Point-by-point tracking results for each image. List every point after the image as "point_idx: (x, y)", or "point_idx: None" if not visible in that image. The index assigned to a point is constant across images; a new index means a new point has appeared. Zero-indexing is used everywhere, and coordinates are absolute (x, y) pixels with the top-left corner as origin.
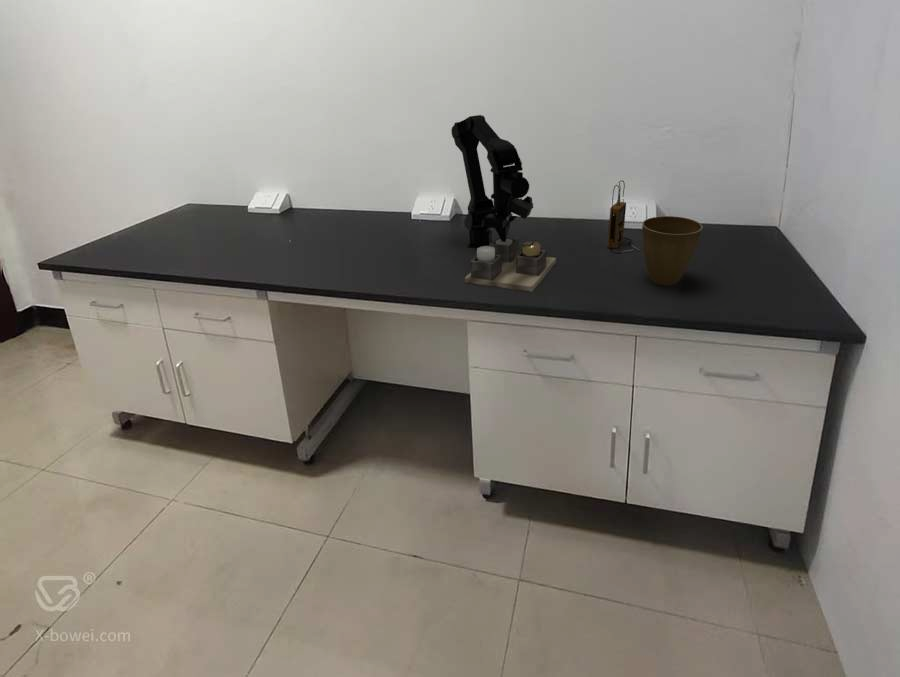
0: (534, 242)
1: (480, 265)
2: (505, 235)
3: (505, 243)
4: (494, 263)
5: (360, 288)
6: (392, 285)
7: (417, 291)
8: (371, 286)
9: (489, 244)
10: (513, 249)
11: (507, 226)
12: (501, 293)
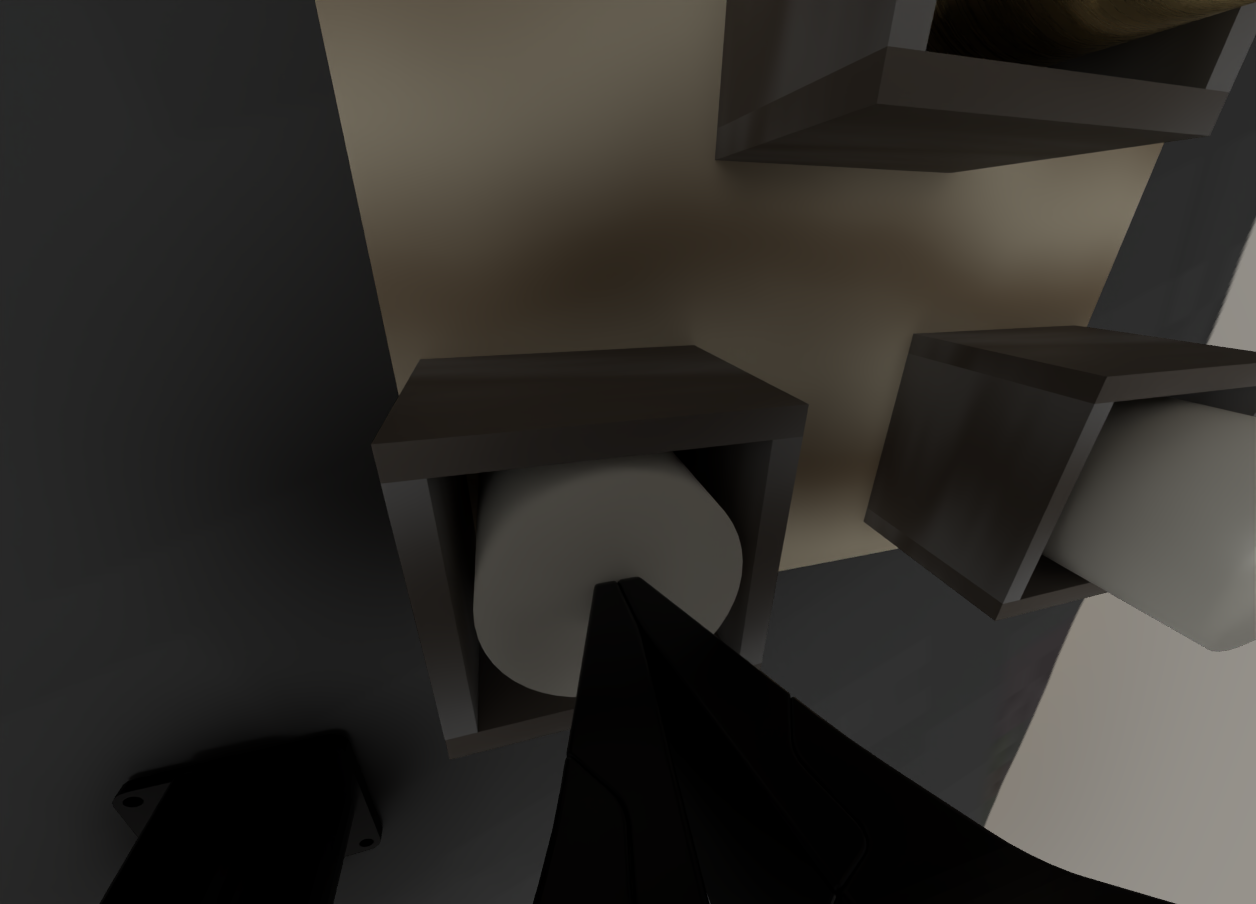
0: None
1: None
2: (730, 650)
3: (701, 537)
4: (1247, 358)
5: (989, 786)
6: (973, 737)
7: (1040, 634)
8: (976, 776)
9: None
10: (648, 385)
11: (863, 884)
12: (1159, 195)
